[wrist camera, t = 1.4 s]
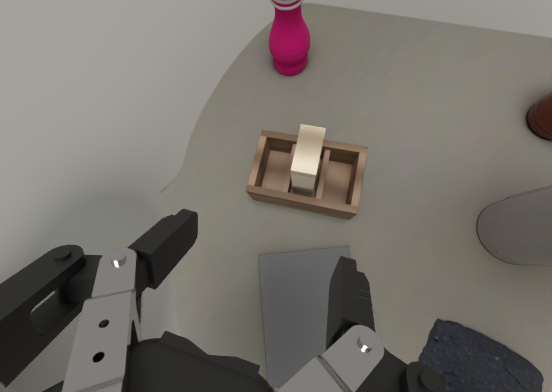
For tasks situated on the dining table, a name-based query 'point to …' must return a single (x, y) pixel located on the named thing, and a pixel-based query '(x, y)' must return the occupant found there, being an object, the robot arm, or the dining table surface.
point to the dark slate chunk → (476, 362)
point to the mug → (542, 117)
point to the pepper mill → (289, 37)
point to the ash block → (306, 159)
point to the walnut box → (328, 183)
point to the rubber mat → (295, 308)
